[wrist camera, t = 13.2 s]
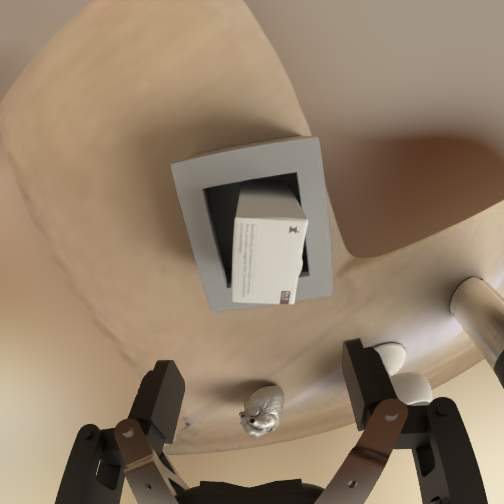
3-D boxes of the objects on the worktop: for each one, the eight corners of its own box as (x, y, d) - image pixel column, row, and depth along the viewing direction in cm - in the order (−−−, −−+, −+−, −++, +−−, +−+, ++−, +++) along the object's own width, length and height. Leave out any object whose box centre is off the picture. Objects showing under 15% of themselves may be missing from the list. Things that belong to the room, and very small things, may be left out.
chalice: (408, 371, 50) (431, 422, 37) (350, 391, 53) (365, 447, 39) (411, 328, 45) (444, 385, 31) (344, 352, 47) (363, 417, 34)
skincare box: (241, 177, 34) (229, 209, 20) (290, 180, 34) (311, 215, 20) (238, 239, 37) (226, 304, 24) (283, 242, 37) (296, 308, 24)
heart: (265, 412, 55) (272, 453, 44) (230, 397, 53) (233, 441, 41) (295, 385, 53) (308, 427, 42) (260, 369, 51) (268, 413, 40)
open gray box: (302, 135, 32) (318, 137, 23) (317, 256, 39) (333, 295, 30) (193, 155, 34) (170, 164, 25) (221, 271, 41) (211, 312, 31)
